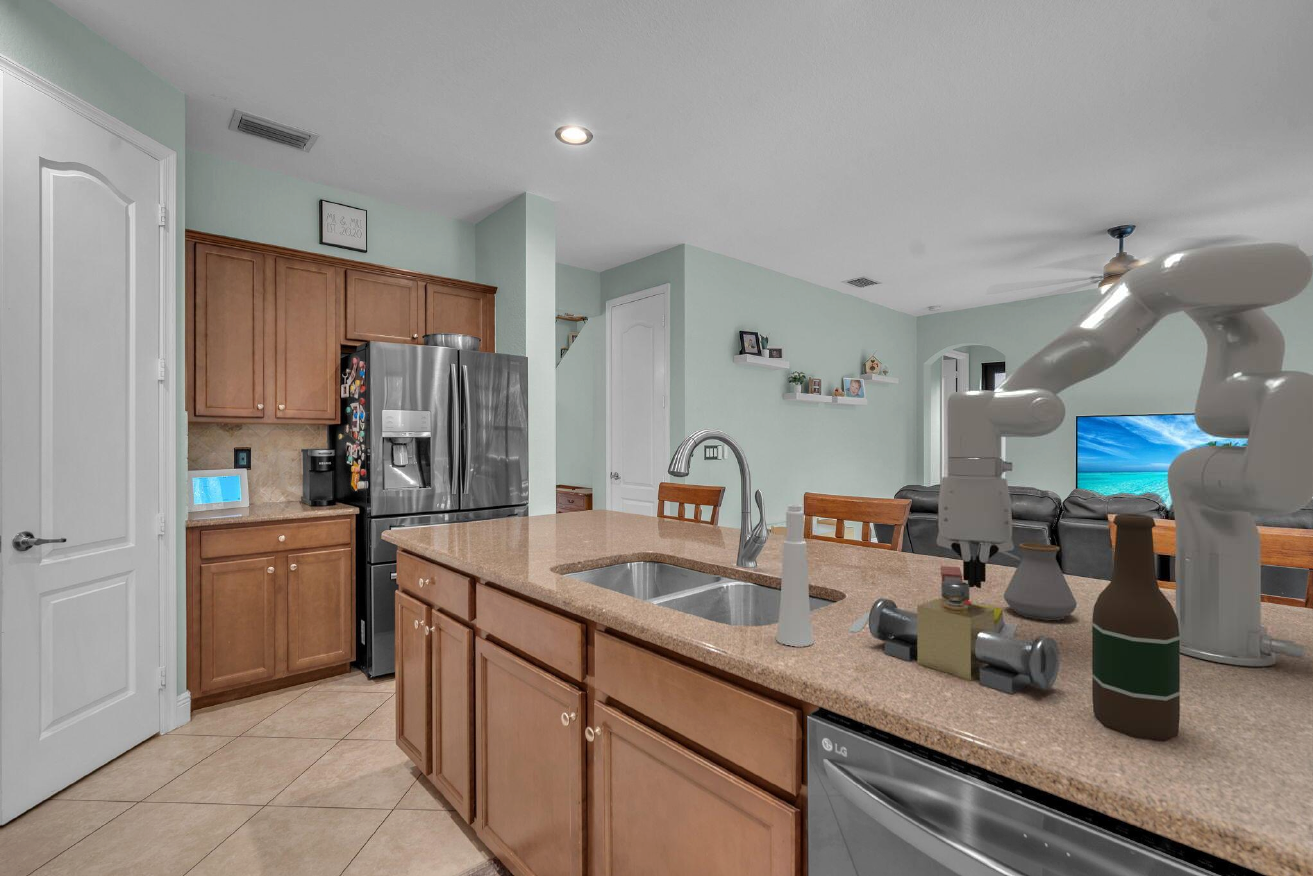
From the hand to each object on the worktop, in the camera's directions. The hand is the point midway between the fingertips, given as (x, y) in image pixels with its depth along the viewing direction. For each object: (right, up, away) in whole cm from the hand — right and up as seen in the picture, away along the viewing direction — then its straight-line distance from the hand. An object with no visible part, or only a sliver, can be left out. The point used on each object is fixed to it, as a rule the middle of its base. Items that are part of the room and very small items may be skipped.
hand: (974, 585), depth 93 cm
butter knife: (-10, -10, +19) cm, 24 cm away
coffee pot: (+17, -10, +20) cm, 28 cm away
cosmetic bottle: (-28, -10, +3) cm, 29 cm away
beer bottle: (+5, -10, -26) cm, 28 cm away
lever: (-4, 0, -2) cm, 5 cm away
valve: (-7, -10, -8) cm, 14 cm away
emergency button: (+5, -11, +12) cm, 16 cm away
